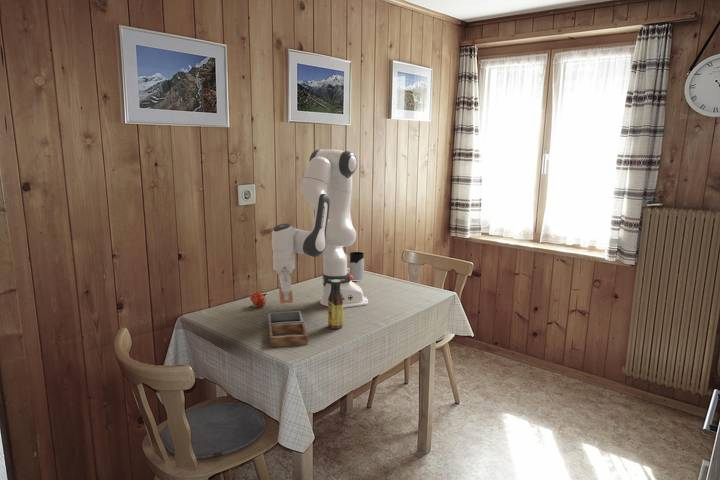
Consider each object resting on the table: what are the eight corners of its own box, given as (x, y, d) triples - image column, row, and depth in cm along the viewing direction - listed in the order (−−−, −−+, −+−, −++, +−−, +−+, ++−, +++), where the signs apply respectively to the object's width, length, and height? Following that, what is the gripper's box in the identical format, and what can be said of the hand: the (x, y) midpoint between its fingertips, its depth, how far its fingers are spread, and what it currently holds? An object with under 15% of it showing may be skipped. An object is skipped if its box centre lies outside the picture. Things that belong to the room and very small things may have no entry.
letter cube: (291, 298, 210) (291, 286, 209) (292, 302, 205) (292, 290, 204) (279, 299, 209) (279, 287, 208) (280, 303, 204) (279, 291, 203)
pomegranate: (251, 315, 228) (269, 302, 227) (242, 302, 227) (259, 289, 226) (256, 311, 235) (272, 298, 234) (246, 299, 235) (263, 286, 234)
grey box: (300, 318, 216) (300, 310, 216) (303, 329, 203) (303, 321, 203) (268, 320, 214) (268, 312, 213) (269, 332, 201) (269, 323, 200)
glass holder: (359, 282, 273) (359, 255, 270) (337, 279, 280) (337, 252, 277) (367, 279, 280) (367, 252, 278) (346, 275, 287) (345, 249, 285)
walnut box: (304, 331, 202) (303, 322, 201) (307, 344, 189) (307, 335, 188) (269, 333, 199) (269, 325, 199) (270, 346, 186) (270, 338, 185)
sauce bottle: (327, 324, 210) (327, 278, 206) (342, 324, 210) (342, 277, 206) (328, 330, 203) (327, 282, 200) (343, 329, 204) (343, 282, 200)
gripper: (293, 270, 195) (295, 304, 197) (290, 258, 214) (292, 289, 217) (277, 271, 193) (279, 306, 196) (275, 259, 213) (277, 290, 216)
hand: (286, 297), depth 207 cm, fingers closed on letter cube, 5 cm apart
